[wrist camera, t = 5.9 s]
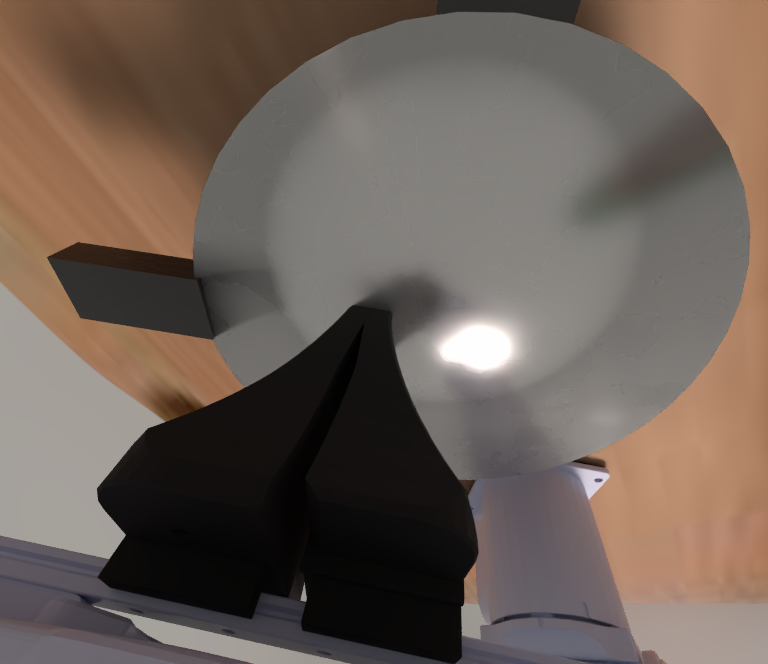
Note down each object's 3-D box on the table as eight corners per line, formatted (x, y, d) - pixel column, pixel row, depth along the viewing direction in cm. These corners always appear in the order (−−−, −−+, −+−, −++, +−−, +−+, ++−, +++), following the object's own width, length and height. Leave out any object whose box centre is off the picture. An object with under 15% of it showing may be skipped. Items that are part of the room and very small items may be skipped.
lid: (572, 485, 17) (580, 510, 16) (159, 412, 18) (143, 431, 17) (922, 62, 7) (999, 62, 6) (-58, -42, 8) (-127, -57, 7)
